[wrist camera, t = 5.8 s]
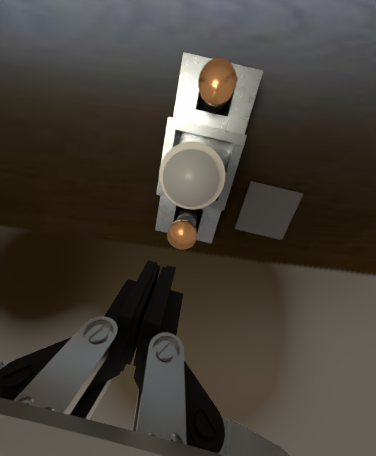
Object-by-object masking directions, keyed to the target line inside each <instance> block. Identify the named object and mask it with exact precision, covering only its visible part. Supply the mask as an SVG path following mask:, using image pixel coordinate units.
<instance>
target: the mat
mask: <svg viewBox="0 0 376 456" xmlns="http://www.w3.org/2000/svg"><path fill="white" fill-rule="evenodd" d="M302 196H303V193H300V192H296V191H291V190H287V189H283V188H279V187H275V186H270V185H266V184H262V183H258V182H253V181H250V184H249V187H248V189H247V192H246V195H245V198H244V201H243V204H242V207H241V210H240V213H239V216H238V219H237V221H236V224H235V227H234V228H235V229H238V230H242V231H246V232H250V233H254V234H258V235H263V236H267V237H271V238H275V239H279V240H282V239H283V236H284V234H285V232H286V230H287V228H288V226H289V224H290V221H291V219H292V217H293V215H294V213H295V211H296V209H297V207H298V204H299V202H300V200H301V198H302Z"/></svg>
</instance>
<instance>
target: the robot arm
mask: <svg viewBox="0 0 376 456" xmlns="http://www.w3.org/2000/svg"><path fill="white" fill-rule="evenodd" d="M175 269H176V268H175V267H172V266H167V267H166V268H165V267H163V268H162V271H161V273H160V275H159V278H158V274H159V270H160V266H158V265H157V263H156V262H152V261H148V262H147V263H146V265H145V267H144V269H143V270H142V272H141V274H140V276H139V278H138V280H137V282H136V281H132V280H127V281H126V282H125V284H124V286H123V287H122V289H121V290H120V292H119V294H118V295H117V297H116V298H115V300H114V302H113V303H112V305H111V307H110V308H109V310H108V311H107V313H106V315H105V316H104V317H96V318H93V319H91V320H89V321H87V322H86V323H85V324H84V325H83V326H82V327H81V328H80V329H79V330H78V331H77V332H76V333H75V334H74V336H73V337H71V338H69V339H66V340H64V341H61V342H59V343H56V344H54V345H51V346H48V347H46V348H44V349H41V350H39V351H36V352H34V353H31V354H29V355H26V356H24V357H21V358H19V359H16V360H15V361H12V362H10V363H8V364H3V361H0V456H289V455H288V453H287V452H286V451H285V450H283V449H282V448H281V447H280V446H278V445H276V444H274V443H272V442H271V441H269V440H267V439H266V438H264V437H262V436H260V435H258V434H257V433H255V432H253V431H252V430H250V429H248V428H246V427H245V426H243V425H241V424H239V423H237V422H236V421H234V420H232V419H230V421H228V420H227V419H225V418H223V417H221V415H220V413H219V411H218V409H217V408H216V406H215V405H214V403H213V402H212V401H211V399H210V398H209V396H208V395H207V393H206V392H205V390H204V389H203V388H202V386H201V384H200V383H199V381H198V380H197V379H196V377H195V376H194V374H193V373H192V371H191V370H190V368H189V367H188V365H187V364H186V362H185V361H184V349H183V344H182V343H181V341H180V339H179V338H178V337H177V336H176V333H177V327H178V321H179V316H180V309H181V304H182V298H183V294H182V293H179V292H176V291H172V290H170V289H171V285H172V281H173V277H174V273H175ZM157 279H158V281H157ZM136 348H137V350H136ZM135 350H136V355H135V360H134V366H136V369H135V374H134V379H135V381H136V384H137V386H138V388H139V391H138V398H137V404H136V411H135V417H134V423H133V430H132V431H131V430H127V429H123V428H119V427H115V426H111V425H107V424H103V423H99V422H95V421H92V420H89V419H90V417H91V415H92V414H93V412H94V410H95V408H96V407H97V405H98V403H99V401H100V399H101V398H102V396H103V394H104V393H105V391H106V389H107V387H108V385H109V383H110V381H111V379H112V378H114V377H115V376H117V375H119V374H120V372H121V371H123V370H124V368H125V365H126V364H129V365H130V363H131V361H132V358H133V356H134V353H135Z"/></svg>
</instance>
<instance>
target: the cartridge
mask: <svg viewBox="0 0 376 456" xmlns="http://www.w3.org/2000/svg"><path fill="white" fill-rule="evenodd" d="M159 179H160V184H161V187H162V190H163V192H164V193H165V195H166V196H167V198H168V199H169V200H170V201H171V202H173V203H174V204H176V205H177V206H179V207H182V208H185V209H199V208H203V207H206V206H208V205H209V204H211V203H212V202H213V201H215V200H216V199H217V197H218V196H219V195H220V193H221V191H222V189H223V187H224V183H225V168H224V165H223V162H222V160H221V158H220V156H219V155H218V154H217V152H216V151H215V150H214V149H213V148H211V147H210V146H208V145H206V144H204V143H200V142H195V141H189V142H184V143H181V144H178V145H176V146H175V147H173V148H172V149H171V150H170V151H169V152H168V153H167V154H166V155H165V157H164V159H163V161H162V163H161V166H160V172H159Z"/></svg>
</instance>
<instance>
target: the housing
mask: <svg viewBox="0 0 376 456" xmlns="http://www.w3.org/2000/svg"><path fill="white" fill-rule="evenodd" d="M210 60H212V59H210V58H206V57H201V56H197V55H192V54H188V53H184V52H183V59H182V65H181V71H180V78H179V84H178V90H177V96H176V103H175V109H174V115H173V118H171V117H168V120H167V127H166V134H165V140H164V147H163V154H162V160H161V163H162V161H163V159H164V157H165V155H166V154H167V153H168V152H169V151H170V150H171V149H172V148H173V147H175V146H176V145H178V144H181V143H184V142H189V141H195V142H200V143H204V144H206V145H208V146H210V147H211V148H213V149H214V150H215V151H216V152H217V154H218V155H219V156H220V158H221V160H222V162H223V165H224V168H225V183H224V187H223V189H222V191H221V193H220V195H219V196H218V197H217V199H216V200H215V201H213V202H212V203H211V204H209V205H208V206H206V207H203V208H199V209H202V214H201V217H200V221H199V224H196V226H195V227H196V229H197V238H196V240H199V241H203V242H207V243H212V240H213V237H214V233H215V230H216V227H217V223H218V220H219V217H220V213H221V210H223V211H224V209H225V205H226V202H227V199H228V195H229V192H230V189H231V186H232V182H233V179H234V176H235V173H236V169H237V166H238V163H239V160H240V156H241V153H242V150H243V147H244V143H245V140H246V137H247V135H244V134H245V130H246V127H247V124H248V120H249V117H250V114H251V110H252V107H253V104H254V100H255V97H256V94H257V90H258V87H259V84H260V80H261V77H262V74H263V70H258V69H254V68H249V67H245V66H241V65H236V64H232V63H231V64H232V65H233V67H234V69H235V71H236V77H237V81H236V87H235V90H234V92H233V94H232V97H231V101H230V105H229V109H228V113H227V117H226V116H222V115H218V114H213V113H209V112H205V111H200V110H198V109H199V104H200V99H201V95H200V92H199V87H198V80H199V75H200V72H201V70H202V68H203V67H204V65H205V64H206V63H207V62H209V61H210ZM157 195H161V197H160V203H159V209H158V216H157V222H156V228H155V230H158V231H162V232H166V233H167V232H168V229H169V227H170V226H171V224H172V223H173V222H175V221H176V220H177V219H176V217H177V212H178V208H179V206H177V205H176V204H174V203H173V202H171V201H170V200H169V199H168V198H167V196H166V195H165V193H164V192H163V190H162V187H161V184H160V179H159V180H158V187H157Z"/></svg>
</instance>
